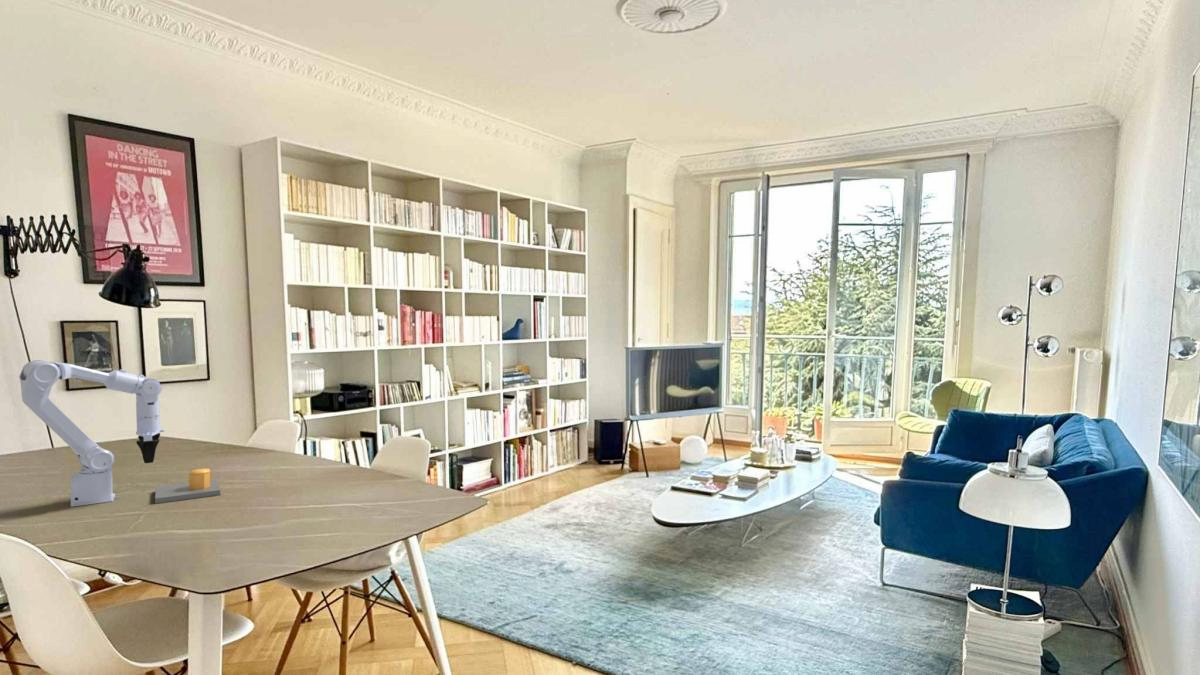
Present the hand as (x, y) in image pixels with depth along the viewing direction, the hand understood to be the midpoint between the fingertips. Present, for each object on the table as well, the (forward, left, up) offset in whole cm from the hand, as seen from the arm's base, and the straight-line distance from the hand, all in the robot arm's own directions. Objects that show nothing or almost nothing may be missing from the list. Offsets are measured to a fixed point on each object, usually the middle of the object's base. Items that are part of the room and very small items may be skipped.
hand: (149, 460), depth 188 cm
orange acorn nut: (+13, -10, -8) cm, 18 cm away
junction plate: (+10, -10, -9) cm, 17 cm away
